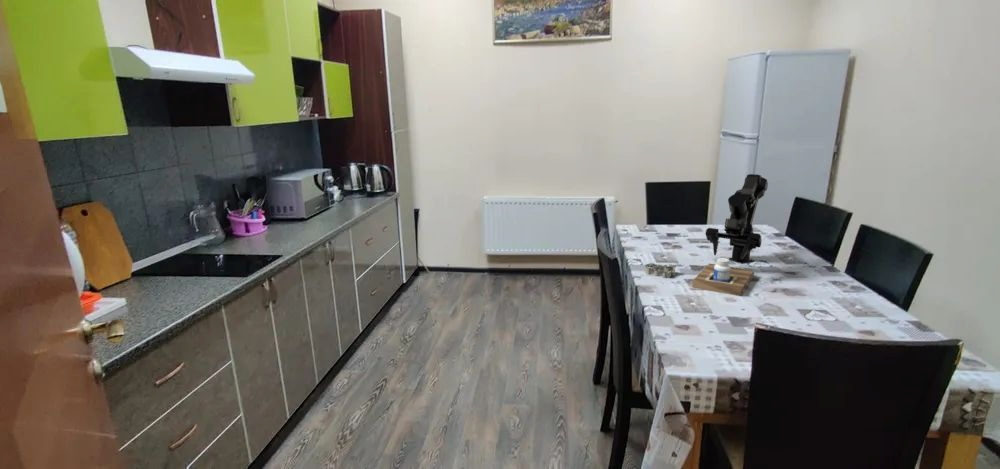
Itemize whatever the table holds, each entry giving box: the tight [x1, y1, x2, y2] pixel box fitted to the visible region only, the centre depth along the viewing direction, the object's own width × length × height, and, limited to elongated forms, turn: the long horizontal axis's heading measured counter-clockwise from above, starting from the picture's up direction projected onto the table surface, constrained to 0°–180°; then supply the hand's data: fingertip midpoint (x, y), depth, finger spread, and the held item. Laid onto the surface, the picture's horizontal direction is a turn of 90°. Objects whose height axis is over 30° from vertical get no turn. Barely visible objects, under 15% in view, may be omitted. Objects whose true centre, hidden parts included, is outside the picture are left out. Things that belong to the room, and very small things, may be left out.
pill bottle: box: [713, 257, 732, 283], centre depth 178 cm, size 6×5×10 cm
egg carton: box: [644, 262, 677, 279], centre depth 193 cm, size 11×8×4 cm
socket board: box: [691, 263, 755, 297], centre depth 182 cm, size 22×16×3 cm
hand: (727, 256), depth 183 cm, fingers open, 9 cm apart
